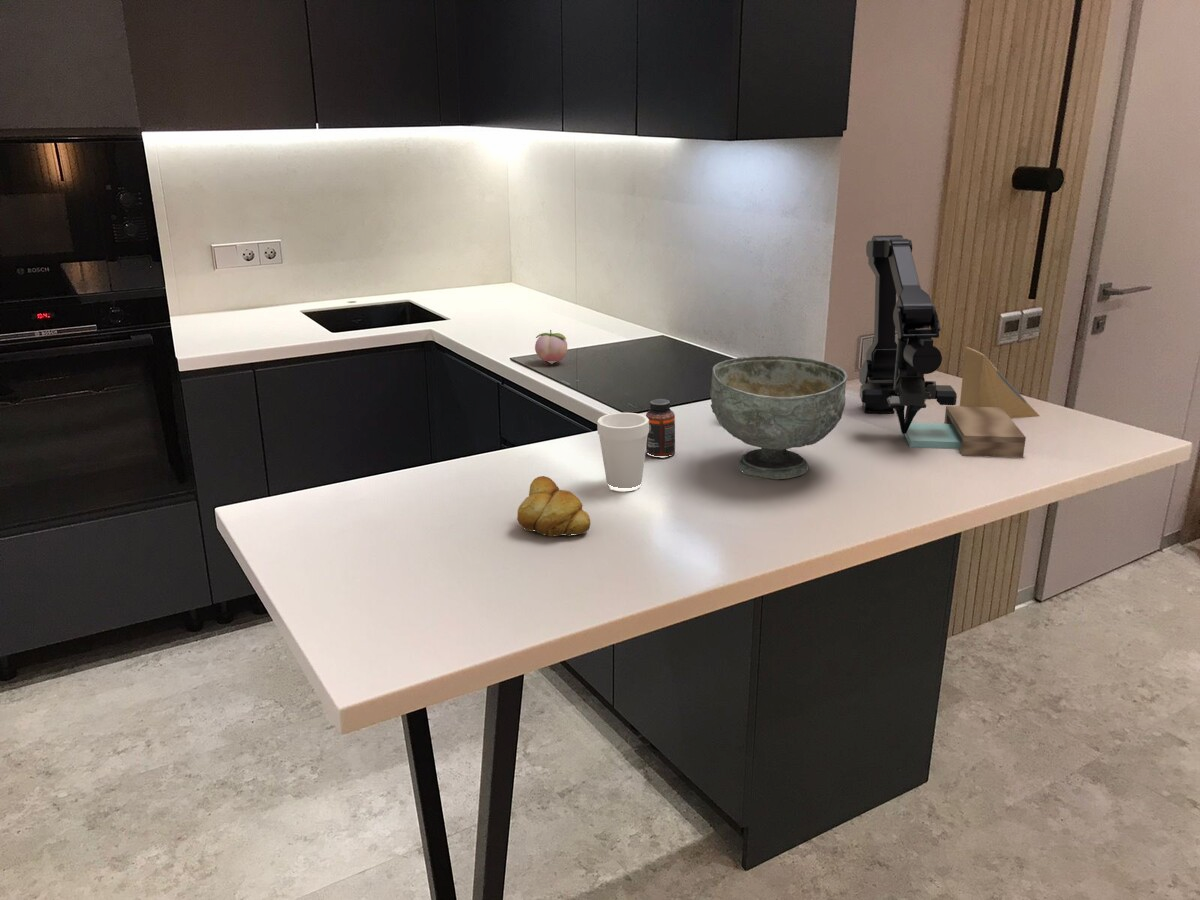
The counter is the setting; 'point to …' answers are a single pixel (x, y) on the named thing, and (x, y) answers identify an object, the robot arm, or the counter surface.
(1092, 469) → the counter surface
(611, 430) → the foam cup
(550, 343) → the decorative fruit
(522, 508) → the bread roll
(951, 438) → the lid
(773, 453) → the decorative bowl
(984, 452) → the low shelf
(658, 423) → the supplement bottle
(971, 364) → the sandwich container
